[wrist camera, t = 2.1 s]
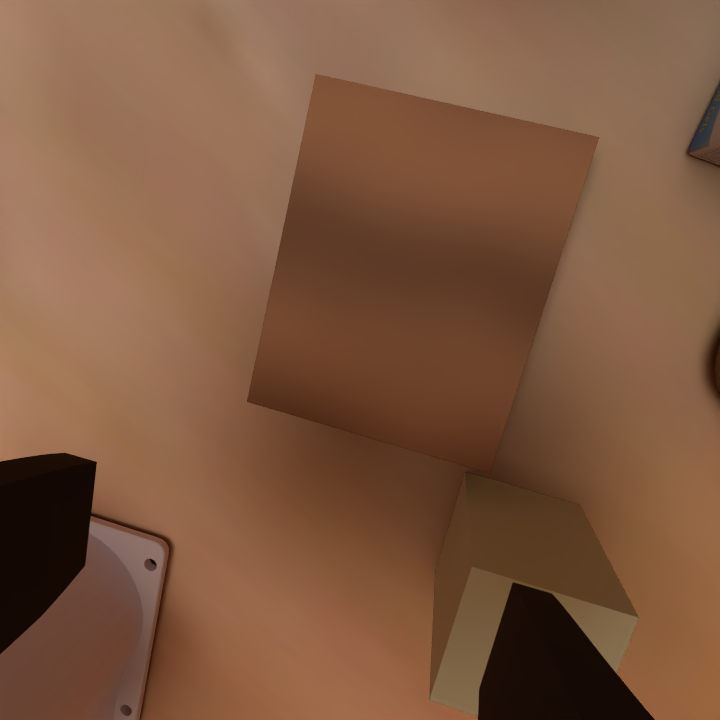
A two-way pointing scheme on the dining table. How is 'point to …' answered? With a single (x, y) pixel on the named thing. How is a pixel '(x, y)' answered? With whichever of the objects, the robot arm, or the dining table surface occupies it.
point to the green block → (516, 581)
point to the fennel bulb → (717, 368)
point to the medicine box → (708, 134)
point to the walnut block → (415, 268)
